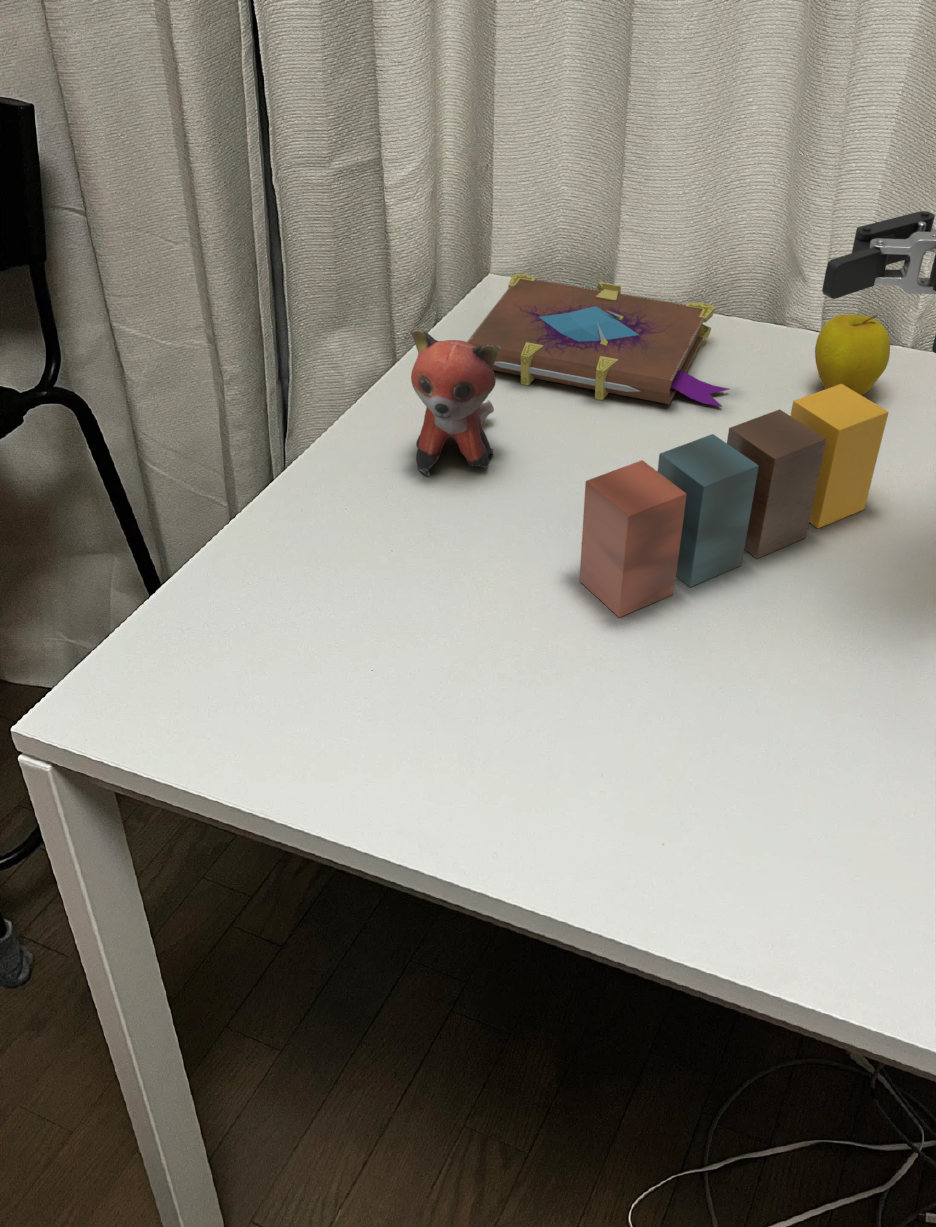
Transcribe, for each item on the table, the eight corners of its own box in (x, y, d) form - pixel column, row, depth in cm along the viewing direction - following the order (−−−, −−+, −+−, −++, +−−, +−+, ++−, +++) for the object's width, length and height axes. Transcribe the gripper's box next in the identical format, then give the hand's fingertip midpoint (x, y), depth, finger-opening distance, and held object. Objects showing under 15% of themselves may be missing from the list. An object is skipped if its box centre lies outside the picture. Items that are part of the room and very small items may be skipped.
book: (715, 430, 106) (721, 381, 103) (459, 379, 114) (457, 332, 110) (756, 339, 117) (763, 293, 114) (520, 298, 125) (520, 254, 121)
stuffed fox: (520, 421, 106) (522, 296, 99) (492, 492, 98) (492, 361, 90) (438, 412, 108) (433, 287, 100) (404, 481, 99) (396, 351, 92)
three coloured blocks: (762, 506, 96) (779, 408, 90) (805, 538, 93) (827, 438, 87) (578, 581, 89) (585, 480, 83) (619, 618, 86) (628, 516, 80)
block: (820, 479, 99) (841, 383, 93) (864, 509, 96) (889, 411, 90) (774, 497, 97) (792, 400, 91) (817, 528, 94) (839, 430, 88)
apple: (892, 404, 108) (913, 323, 103) (827, 413, 107) (844, 332, 102) (859, 370, 113) (877, 291, 107) (796, 379, 112) (811, 299, 106)
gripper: (994, 149, 76) (805, 203, 70) (1199, 225, 67) (1002, 294, 61) (963, 261, 81) (784, 320, 75) (1151, 346, 72) (964, 422, 66)
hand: (882, 308), depth 68 cm, fingers open, 8 cm apart
